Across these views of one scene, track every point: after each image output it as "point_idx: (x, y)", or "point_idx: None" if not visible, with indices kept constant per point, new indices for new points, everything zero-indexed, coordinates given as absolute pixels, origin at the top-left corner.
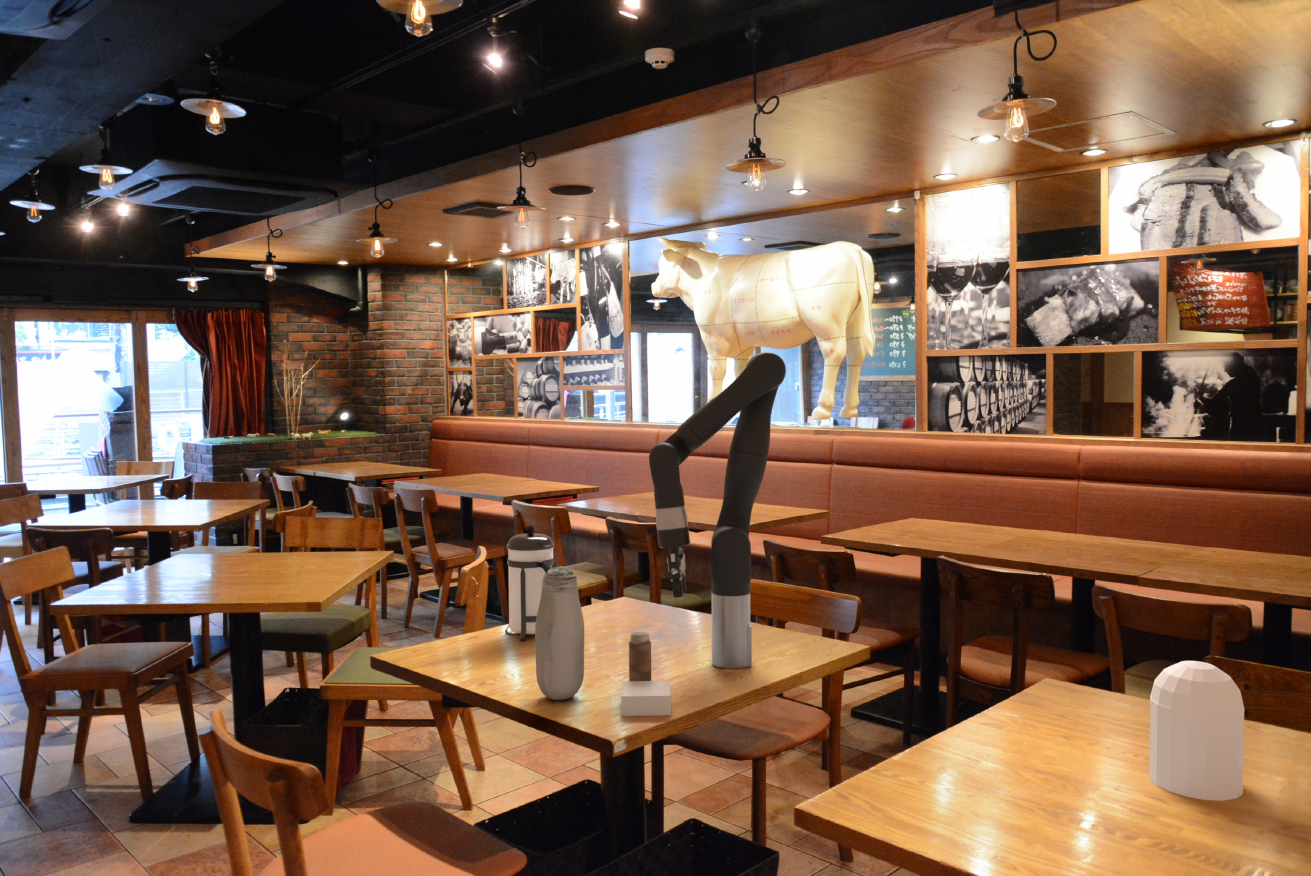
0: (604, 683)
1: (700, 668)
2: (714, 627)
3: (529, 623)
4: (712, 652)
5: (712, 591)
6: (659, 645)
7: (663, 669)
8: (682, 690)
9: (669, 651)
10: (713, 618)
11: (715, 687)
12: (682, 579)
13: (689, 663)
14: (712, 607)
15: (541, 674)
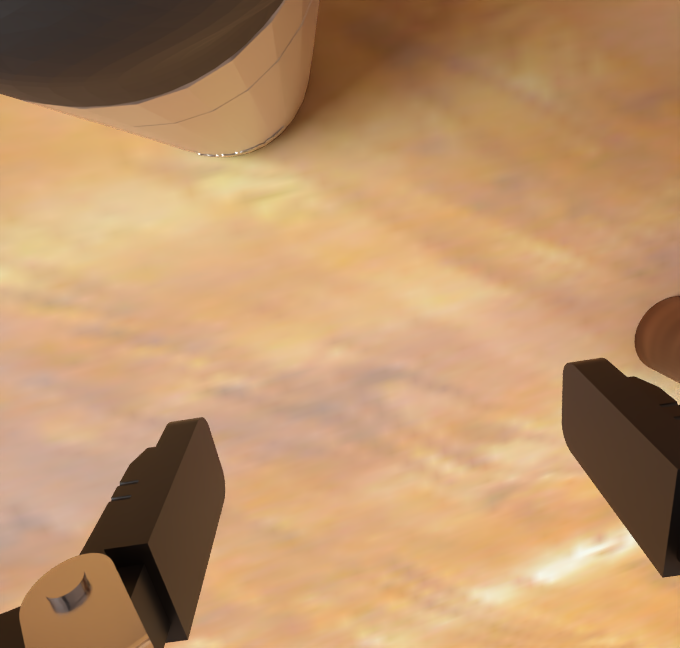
0: (584, 475)
1: (329, 191)
2: (274, 104)
3: None
4: (256, 143)
5: (204, 68)
6: (29, 455)
7: (380, 337)
8: (637, 191)
9: (108, 389)
10: (261, 104)
11: (587, 62)
12: (169, 539)
13: (266, 257)
14: (230, 105)
15: None
